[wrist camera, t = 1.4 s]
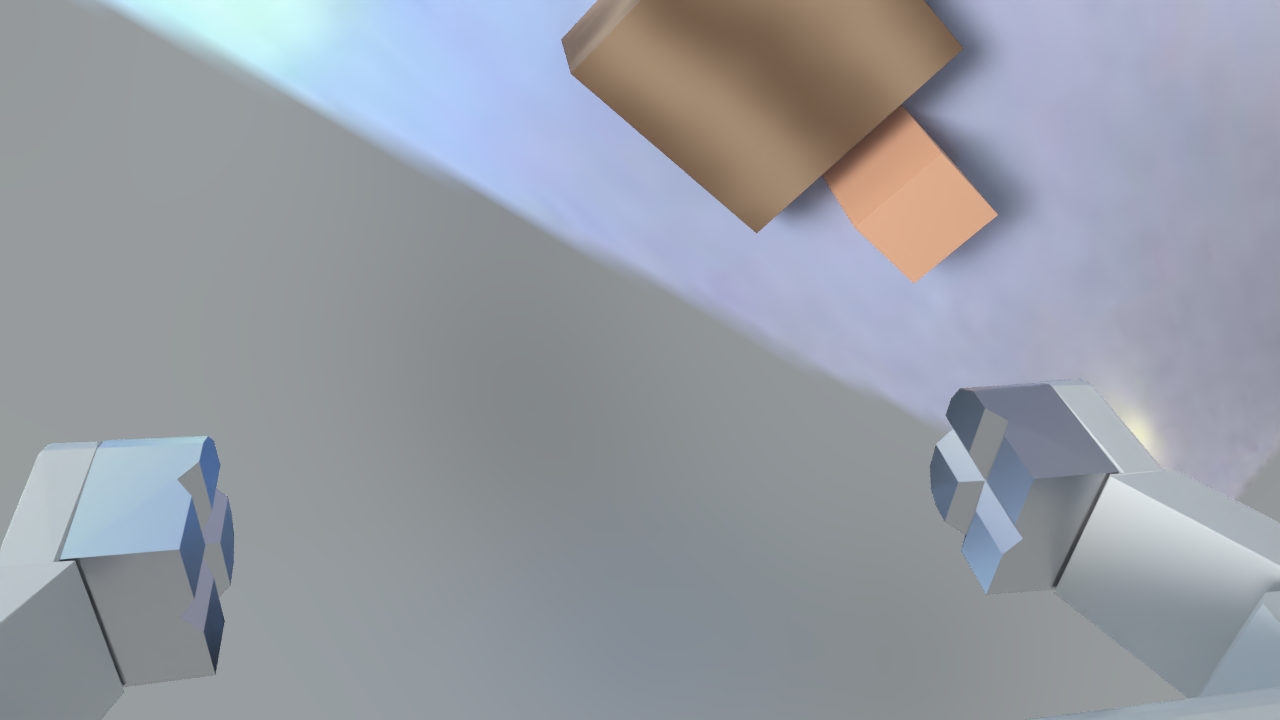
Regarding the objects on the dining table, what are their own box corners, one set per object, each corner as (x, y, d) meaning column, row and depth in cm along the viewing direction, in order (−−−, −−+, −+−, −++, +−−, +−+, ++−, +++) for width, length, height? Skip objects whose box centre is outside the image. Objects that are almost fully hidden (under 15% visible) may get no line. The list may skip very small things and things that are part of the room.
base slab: (764, -185, 41) (792, -161, 38) (928, 14, 48) (963, 48, 44) (560, 35, 45) (571, 73, 42) (736, 190, 52) (756, 233, 49)
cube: (900, 104, 50) (941, 152, 46) (955, 164, 53) (998, 215, 49) (821, 174, 52) (854, 227, 48) (878, 229, 54) (913, 283, 51)
